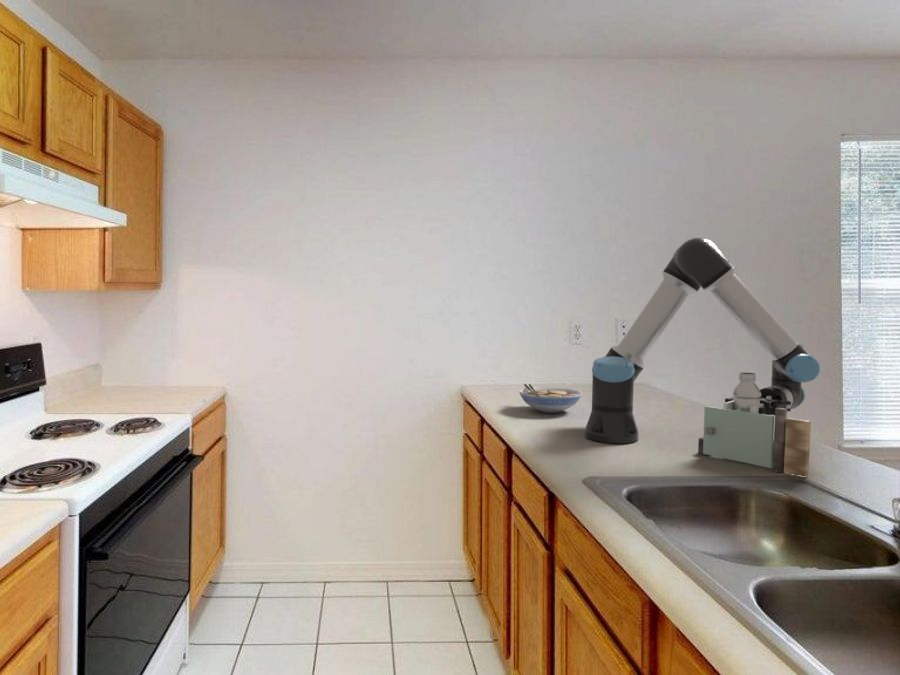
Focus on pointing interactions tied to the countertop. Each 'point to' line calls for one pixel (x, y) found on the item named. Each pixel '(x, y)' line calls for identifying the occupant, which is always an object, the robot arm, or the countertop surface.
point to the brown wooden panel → (787, 444)
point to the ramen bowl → (550, 398)
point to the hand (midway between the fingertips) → (738, 410)
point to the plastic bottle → (746, 392)
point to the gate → (739, 435)
